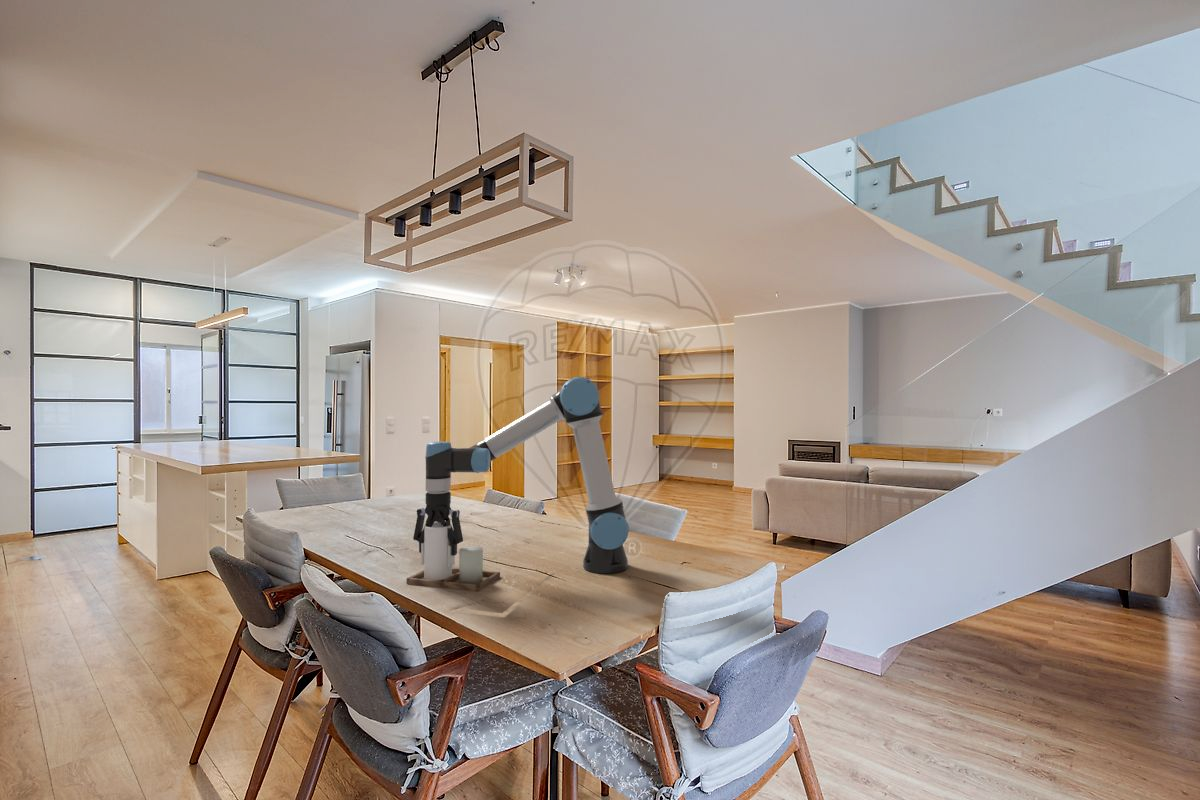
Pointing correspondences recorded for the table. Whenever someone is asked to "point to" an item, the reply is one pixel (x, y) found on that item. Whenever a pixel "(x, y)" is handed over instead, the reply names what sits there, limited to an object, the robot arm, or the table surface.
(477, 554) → the pale green rounded cylinder
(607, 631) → the table surface
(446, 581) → the caddy
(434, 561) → the cup
